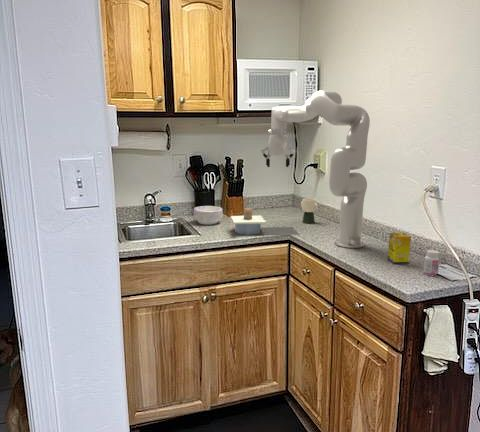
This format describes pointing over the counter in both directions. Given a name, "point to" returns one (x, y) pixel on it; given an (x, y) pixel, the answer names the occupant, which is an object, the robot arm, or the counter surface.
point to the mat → (280, 231)
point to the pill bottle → (431, 262)
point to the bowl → (247, 229)
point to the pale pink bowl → (208, 214)
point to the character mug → (309, 209)
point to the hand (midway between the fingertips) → (277, 166)
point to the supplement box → (399, 248)
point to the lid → (248, 218)
